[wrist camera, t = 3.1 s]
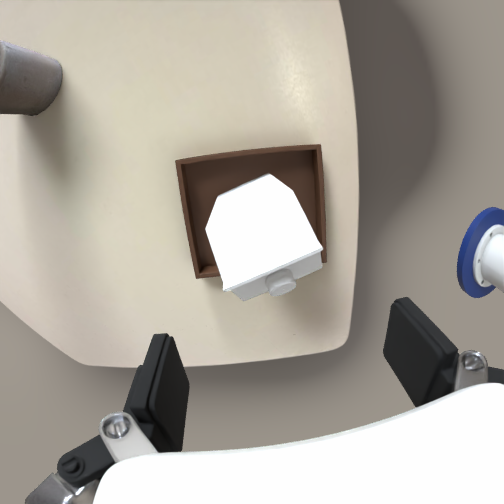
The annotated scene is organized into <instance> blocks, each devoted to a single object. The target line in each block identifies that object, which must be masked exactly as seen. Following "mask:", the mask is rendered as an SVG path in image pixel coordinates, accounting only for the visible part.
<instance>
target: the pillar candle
mask: <svg viewBox="0 0 504 504" xmlns="http://www.w3.org/2000/svg"><path fill="white" fill-rule="evenodd" d="M61 81H62V70H61V66H60V64H59V63H58V61H57V60H55V59H53V58H50V57H48V56H46V55H43V54H40V53H38V52H35V51H32V50H29V49H26V48H23V47H20V46H17V45H14V44H11V43H8V42H5V41H2V40H0V114H23V115H30V116H35V115H38V114H39V113H41V112H43V111H44V110H46V109H47V108H48V107H49V106H50V104H51V103H52V102H53V100H54V99H55V97H56V95H57V93H58V91H59V88H60V85H61Z"/></svg>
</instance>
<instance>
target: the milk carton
mask: <svg viewBox="0 0 504 504" xmlns="http://www.w3.org/2000/svg"><path fill="white" fill-rule="evenodd" d="M205 229H206V233H207V236H208V239H209V242H210V245H211V248H212V251H213V254H214V257H215V260H216V263H217V266H218V268H219V271H220V274H221V277H222V280H223V283H224V284H223V291H224V292H227V291H229V290H231V291H232V292H233V293H234V294H236V295H237V296H238V297H239V298H240V299H241V300H242V301H246V300H248V299H251V298H253V297H256V296H258V295H261V294H263V293H266V292H268V291H269V294H270V295H271V296H280V295H283V294H286V293H288V292H290V291H291V290H293V289H294V288H295V287H296V281H295V280H296V279H298V278H301V277H303V276H305V275H308V274H310V273H312V272H314V271H316V270H319V269H321V268H322V260H321V253H320V251H322V250H323V247H322V246H321V244H320V243H319V242H318V240H317V238H316V236H315V234H314V232H313V230H312V228H311V226H310V224H309V222H308V220H307V218H306V216H305V214H304V212H303V210H302V208H301V206H300V204H299V202H298V200H297V198H296V196H295V194H294V192H293V190H291V189H290V188H289V187H287V186H286V185H285V184H283V183H282V182H281V181H279V180H278V179H276V178H275V177H274V176H272V175H271V174H269V173H268V174H265V175H263V176H260V177H258V178H256V179H253V180H251V181H249V182H247V183H244V184H242V185H240V186H238V187H236V188H233V189H231V190H229V191H227V192H225V193H223V194H221V195H219V196H218V197H217V199H216V202H215V205H214V207H213V210H212V213H211V215H210V218H209V221H208V223H207V226H206V228H205Z"/></svg>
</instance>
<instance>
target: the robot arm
mask: <svg viewBox="0 0 504 504" xmlns="http://www.w3.org/2000/svg"><path fill="white" fill-rule="evenodd" d="M473 276H474V279H475V281H476V282H477V283H478V284H479V285H480V286H482V287H488V286H490V285H494V286H495V287H497V288H498V289H499V290H501V291H502V292H503V293H504V226H502V225H499V224H498V225H494V226H492V227H491V228H489V229H488V230H487V231H486V233H485V234H484V235H483V237H482V238H481V240H480V242H479V244H478V246H477V249H476V252H475V255H474V260H473ZM383 354H384V357H385V359H386V360H387V362H388V363H389V365H390V366H391V368H392V370H393V371H394V373H395V374H396V376H397V377H398V379H399V381H400V382H401V384H402V386H403V387H404V389H405V390H406V392H407V394H408V395H409V397H410V399H411V400H412V402H413V404H414V405H415V407H417V408H414V409H412V410H409V411H407V412H404V413H401V414H399V415H396V416H393V417H390V418H387V419H384V420H381V421H378V422H375V423H372V424H368V425H365V426H362V427H358V428H354V429H351V430H347V431H343V432H339V433H335V434H331V435H327V436H322V437H318V438H313V439H308V440H302V441H297V442H291V443H285V444H279V445H272V446H264V447H255V448H247V449H246V448H245V449H233V450H220V451H198V452H181V451H182V446H183V437H184V428H185V418H186V411H187V403H188V395H189V381H188V378H187V375H186V373H185V370H184V367H183V364H182V361H181V359H180V356H179V353H178V350H177V347H176V344H175V341H174V338H173V337H172V336H171V337H169V335H168V334H167V333H164V334H154V335H153V338H152V340H151V343H150V346H149V349H148V352H147V355H146V358H145V360H144V363H143V365H140V366H138V369H137V371H136V374H135V377H134V380H133V383H132V385H131V389H130V391H129V394H128V398H127V401H126V404H125V407H124V410H123V412H114V413H111V414H109V415H107V416H106V417H104V419H103V420H102V421H101V423H100V425H99V433H100V435H98V436H96V437H94V438H93V439H91V440H89V441H87V442H86V443H84V444H82V445H81V446H79V447H77V448H75V449H73V450H71V451H70V452H68V453H66V454H64V455H63V456H62V457H61V458H60V460H59V462H58V464H57V470H58V472H57V473H56V474H53V473H51V474H50V475H49V476H48V477H47V478H46V479H45V480H44V481H43V482H42V483H41V484H40V485H39V486H38V487H37V488H36V489H35V490H34V491H33V492H32V493H31V494H30V495H29V496H28V497H27V498H26V500H25V504H504V370H502V369H498V368H492V367H488V364H487V360H486V358H485V357H484V356H483V355H482V354H481V353H479V352H477V351H471V350H469V351H464V352H463V353H461V354H460V355H459V353H458V349H457V347H456V346H455V345H454V344H453V343H452V342H451V341H450V340H449V339H448V338H447V337H446V336H445V334H444V333H443V332H442V331H441V330H440V329H439V328H438V327H437V326H436V325H435V324H434V323H433V322H432V321H431V320H430V319H429V318H428V317H427V316H426V315H425V314H424V313H423V312H422V311H421V310H420V309H419V308H418V307H417V306H416V305H415V304H414V303H413V302H412V301H411V300H410V299H409V298H408V297H404V298H400V299H396V300H395V301H394V303H393V304H392V305H391V310H390V316H389V322H388V328H387V334H386V339H385V344H384V349H383Z"/></svg>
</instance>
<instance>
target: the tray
mask: <svg viewBox="0 0 504 504" xmlns="http://www.w3.org/2000/svg"><path fill="white" fill-rule="evenodd" d="M175 162H176V169H177V176H178V182H179V189H180V195H181V201H182V207H183V213H184V219H185V225H186V230H187V236H188V241H189V246H190V251H191V257H192V262H193V267H194V271H195V276H196V279H199V278H208V277H216V276H221V274H220V271H219V268H218V266H217V263H216V260H215V257H214V254H213V251H212V248H211V245H210V242H209V239H208V236H207V233H206V229H205V228H206V226H207V223H208V221H209V218H210V215H211V213H212V210H213V207H214V205H215V202H216V199H217V197H218V196H219V195H221V194H223V193H225V192H227V191H229V190H231V189H233V188H236V187H238V186H240V185H242V184H244V183H247V182H249V181H251V180H253V179H256V178H258V177H260V176H263V175H265V174H268V173H269V174H271V175H272V176H274V177H275V178H276V179H278V180H279V181H281V182H282V183H283V184H285V185H286V186H287V187H289V188H290V189H291V190H293V192H294V194H295V196H296V198H297V200H298V202H299V204H300V206H301V208H302V210H303V212H304V214H305V216H306V218H307V220H308V222H309V224H310V226H311V228H312V230H313V232H314V234H315V236H316V238H317V240H318V242H319V243H320V244H321V246H322V247H323V250H322V251H320V253H321V260H322V263H326V262H327V253H326V216H325V195H324V179H323V164H322V152H321V144H316V145H297V146H283V147H271V148H261V149H251V150H242V151H234V152H226V153H219V154H211V155H205V156H198V157H192V158H186V159H180V160H176V161H175Z"/></svg>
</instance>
